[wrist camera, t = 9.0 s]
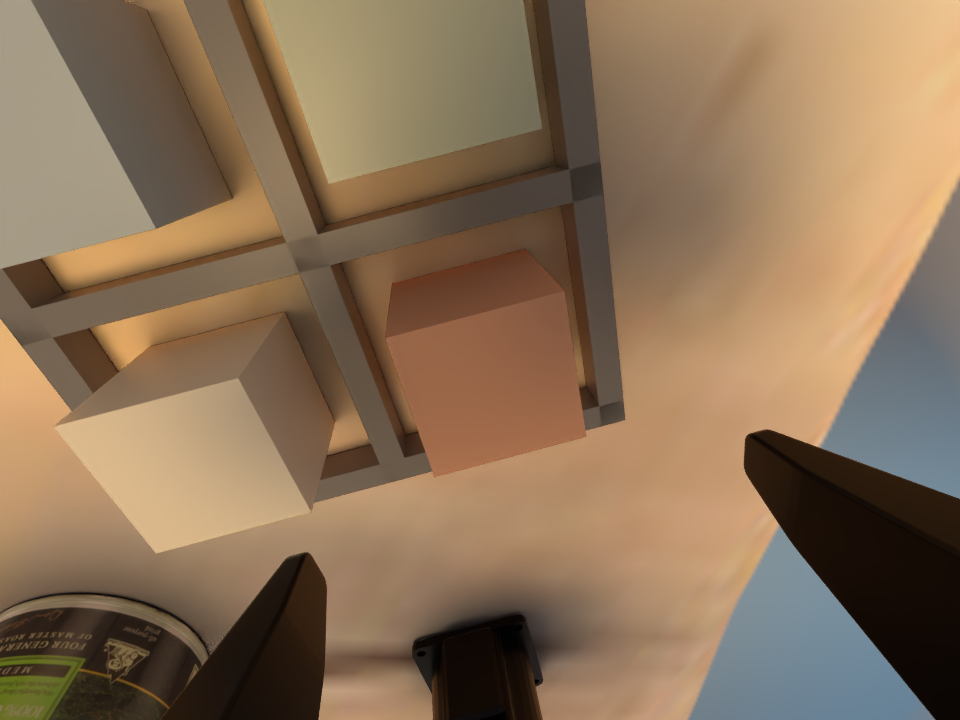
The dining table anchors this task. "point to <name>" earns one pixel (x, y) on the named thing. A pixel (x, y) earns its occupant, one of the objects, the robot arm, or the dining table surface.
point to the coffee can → (93, 659)
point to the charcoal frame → (306, 238)
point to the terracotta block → (485, 361)
